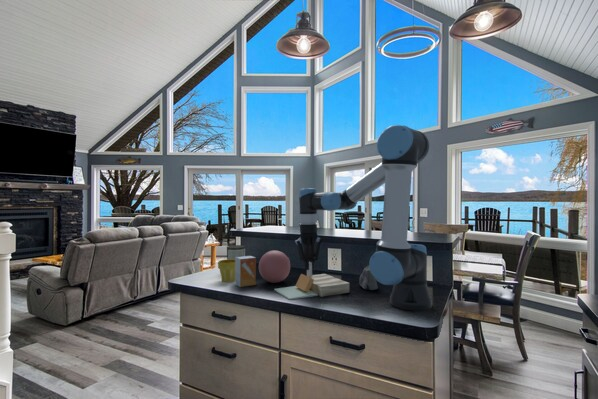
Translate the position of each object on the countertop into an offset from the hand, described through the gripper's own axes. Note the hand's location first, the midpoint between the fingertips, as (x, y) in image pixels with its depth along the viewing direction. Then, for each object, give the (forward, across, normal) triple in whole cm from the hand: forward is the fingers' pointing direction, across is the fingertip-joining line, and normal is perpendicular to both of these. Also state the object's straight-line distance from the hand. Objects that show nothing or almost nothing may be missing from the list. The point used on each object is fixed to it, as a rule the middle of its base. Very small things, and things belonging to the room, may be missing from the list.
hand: (309, 277), depth 141 cm
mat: (+6, +7, 0) cm, 9 cm away
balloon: (+6, +6, -22) cm, 23 cm away
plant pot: (+6, +28, -34) cm, 44 cm away
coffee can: (+6, +19, -54) cm, 57 cm away
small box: (+6, +22, -22) cm, 32 cm away
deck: (+6, -7, 0) cm, 9 cm away
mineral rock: (+7, -27, +6) cm, 29 cm away
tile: (+3, +2, 0) cm, 3 cm away
